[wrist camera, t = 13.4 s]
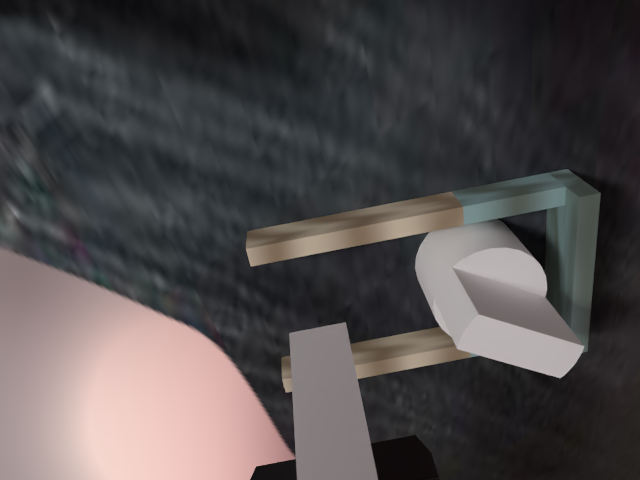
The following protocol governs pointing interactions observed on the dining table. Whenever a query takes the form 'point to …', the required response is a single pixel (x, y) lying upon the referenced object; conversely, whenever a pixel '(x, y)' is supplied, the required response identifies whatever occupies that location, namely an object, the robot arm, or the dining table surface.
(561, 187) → the bay
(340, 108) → the dining table surface
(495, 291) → the cylinder with rectangular tab
